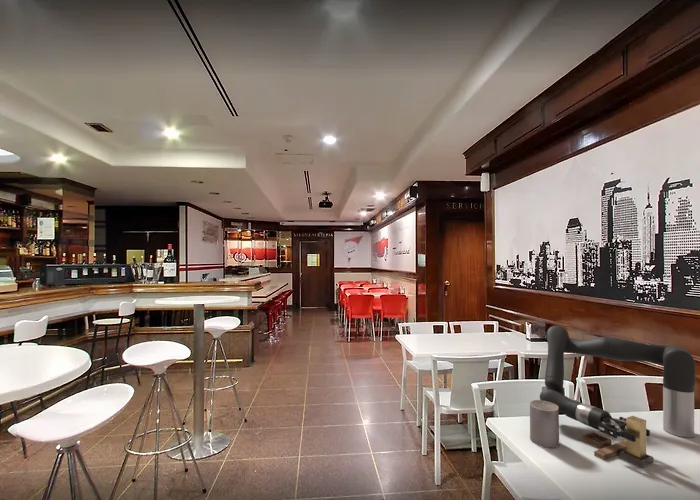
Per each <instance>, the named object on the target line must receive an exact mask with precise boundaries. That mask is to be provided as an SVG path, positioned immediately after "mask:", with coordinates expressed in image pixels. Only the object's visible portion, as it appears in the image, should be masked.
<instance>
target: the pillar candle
mask: <svg viewBox="0 0 700 500" xmlns="http://www.w3.org/2000/svg"><path fill="white" fill-rule="evenodd" d="M559 417H560V413H559V407H558V406H557V405H556V404H554V403H552V402H548V401H543V400H540V399H536V400H535V399H533V400H531V401H529V439H530V442H531V443H533V444H534V443H535V445H536V444H537V445H536V446H538V445H540V446H539V447H541V446H542V448H550V449H553V447H555V448H558V447H559V446H560V418H559ZM557 446H558V447H557ZM551 447H552V448H551Z"/></svg>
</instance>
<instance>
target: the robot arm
mask: <svg viewBox="0 0 700 500" xmlns="http://www.w3.org/2000/svg"><path fill="white" fill-rule="evenodd" d="M545 334H546V335H545V337H546V341H547V359H546V365H545V366H546V367H545V375H544V376H545V377H544V385H545V388H546V389H543V390H542V391H541V392H540V393H539V400H543V401H548V402H552V403H554V404H556V405H557V406H558V407H559V414H561V413H562V414H563V415H565V416H566V417H568V418H569V419H572V420H574V421H577V422H579V423H580V424H583V425H584V426H587V427H590V428H592V429H594V430H597V431H599V432H601V433H602V434H605V435H606V436H609V437H612V438H614V439H618V438H619V439H622V438H624V440H626V439H627V440H630V441H632V442H635V441H636V436H635V435H634V434H631V433H629V432H626V418H627V417H626V418H625V417H623V416H619V417H618V418H616V417H615V418H614V417H612V415H611V413H610V412H609V411H607V410H604V409H601V408H599V407H597V406H593V405H590V404H587V403H584V402H580V401H577V400H574V399H571V398H569V397H568V396H566V395H565V390H564V382H565V381H564V380H565V362H564V360H565V357H564V355H565V354H576V355H578V354H579V355H585V356H591V357H598V358H603V359H608V360H614V361H619V362H648V363H654V364H658V365H663V367H662V368H663V377H662V400H663V401H662V413H663V414H662V422H663V423H662V425H663V427H662V429H663V430H664V431H665V432H667V433H669V434H671V435H674V436H678V437H682V438H687V439H690V438H694V437H695V385H696V361H695V359H694V357H693V355H692V353H691V352H690V351H689V350H687V349H685V348H684V347H681V346H677V345H662V344H652V343H651V344H650V343H649V344H648V343H644V342H639V341H635V340H629V339H625V338H624V339H623V338H618V337H610V336H598V337H594V338H589V339H577V338H571V337H570V334H569V332H568V330H567V329H566V328H565V327H563V326H560V325H552V326H550V327H549V328H548V329H547V331H546V333H545ZM648 437H651V430H650V429H648V428H646V438H648Z"/></svg>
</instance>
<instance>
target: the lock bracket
mask: <svg viewBox="0 0 700 500" xmlns="http://www.w3.org/2000/svg"><path fill="white" fill-rule="evenodd" d="M581 441H582V442H584V443H586V444H589V445H591V446H593V447H596V448H597V450H594V451H593V453H594V454H593V455H594V457H596V458H599V459H600V460H602V461H604V460H607V459H609V458H612V457H614V456H617V455H619V458H620V459H622V460H624V461H626V462H629V463H631V464H633V465H635V466H637V467H639V468H641V469H643V468H646V467H647V466H650V465H652V464H654V456H652V455H649V454H647V453H646V459H643V460H639V459H637V458H634V457H632V456H630V455H628V454H626V439H623V440H621V441H618V442H615V443H613V444H612V439H611V438H609V437H607V436H604V435H602V434H599V433H597V432H595V431H590V432H587V433H585V434H582V435H581ZM619 453H620V454H619Z"/></svg>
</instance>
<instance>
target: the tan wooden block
mask: <svg viewBox="0 0 700 500" xmlns="http://www.w3.org/2000/svg"><path fill="white" fill-rule="evenodd" d="M625 429H626V432H629V433H631V434H634V435H635V436H636V441H635V442H632V441H630V440H627V439H625V440H626V454H628V455H630V456H632V457H634V458H637V459H639V460H643V459H646V454H647V436H646V429H647V420H646V419H643V418H641V417H637V416H635V415H631V416H628V417H626V426H625Z"/></svg>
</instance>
